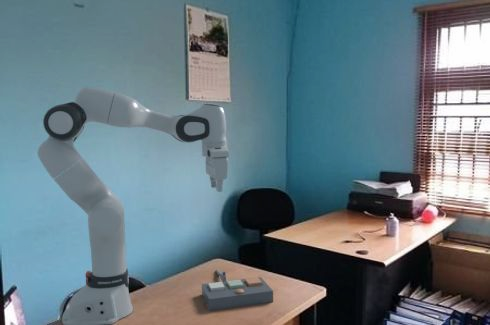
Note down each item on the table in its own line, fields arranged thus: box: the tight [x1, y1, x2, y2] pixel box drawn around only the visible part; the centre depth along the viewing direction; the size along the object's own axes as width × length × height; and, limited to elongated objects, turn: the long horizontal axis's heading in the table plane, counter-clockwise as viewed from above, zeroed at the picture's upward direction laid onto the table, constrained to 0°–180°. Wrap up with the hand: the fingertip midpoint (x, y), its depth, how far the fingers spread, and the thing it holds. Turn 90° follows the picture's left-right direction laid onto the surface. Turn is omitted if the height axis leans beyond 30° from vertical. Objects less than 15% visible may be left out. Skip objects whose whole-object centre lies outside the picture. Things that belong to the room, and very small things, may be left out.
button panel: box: [201, 276, 274, 311], centre depth 153 cm, size 23×14×5 cm, turn 106°
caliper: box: [215, 268, 227, 282], centre depth 171 cm, size 20×1×6 cm, turn 13°
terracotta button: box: [244, 277, 262, 287], centre depth 156 cm, size 5×5×3 cm
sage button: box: [226, 279, 244, 289], centre depth 155 cm, size 5×5×3 cm
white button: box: [208, 281, 225, 292], centre depth 153 cm, size 5×5×3 cm
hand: (216, 189), depth 149 cm, fingers open, 8 cm apart
